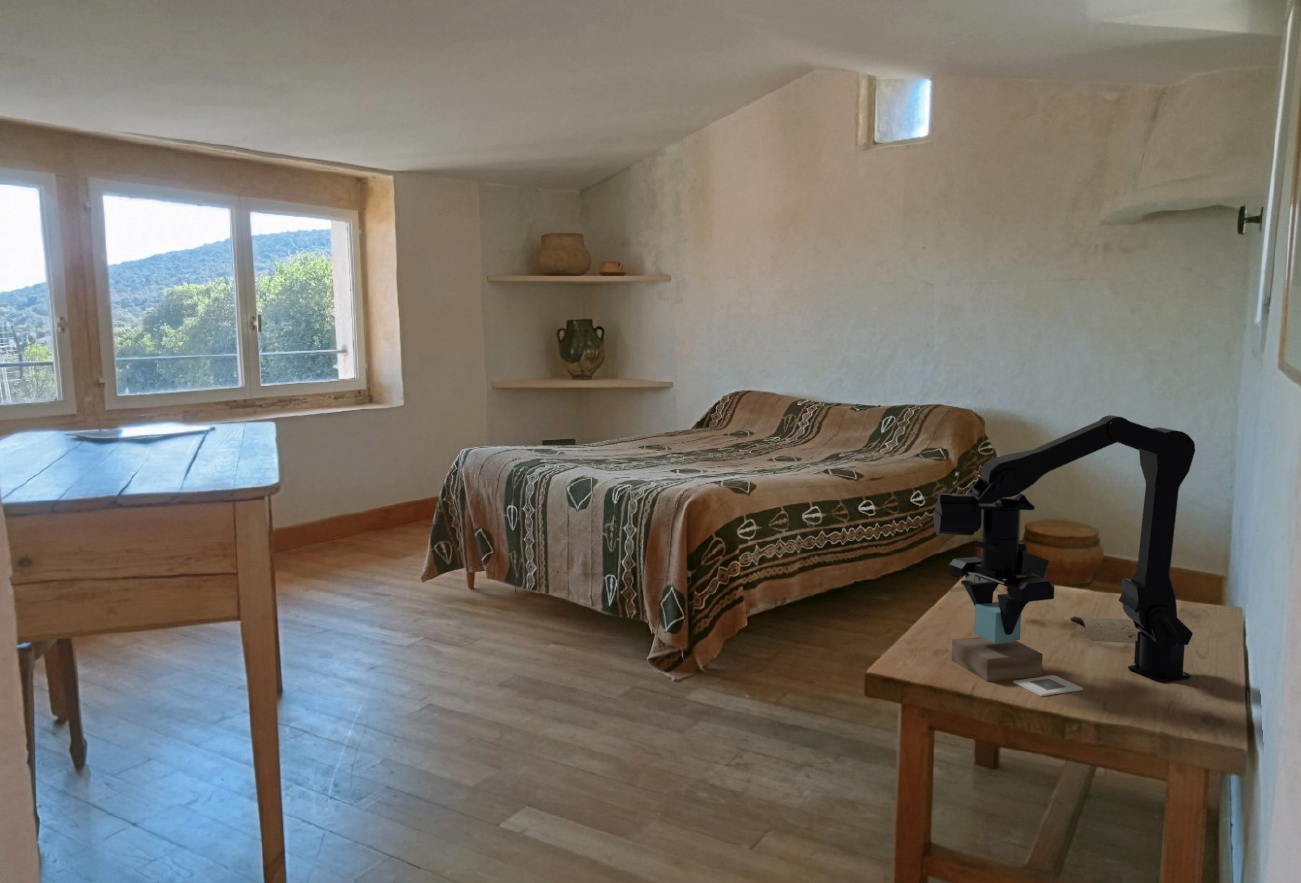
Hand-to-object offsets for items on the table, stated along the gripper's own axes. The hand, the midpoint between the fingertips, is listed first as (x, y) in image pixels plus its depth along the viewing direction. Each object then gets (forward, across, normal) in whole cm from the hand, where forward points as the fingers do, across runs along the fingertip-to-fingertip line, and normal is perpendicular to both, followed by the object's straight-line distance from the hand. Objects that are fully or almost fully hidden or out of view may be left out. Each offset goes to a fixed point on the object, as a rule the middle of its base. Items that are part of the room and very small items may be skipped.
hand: (997, 629), depth 150 cm
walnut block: (+7, 0, 0) cm, 7 cm away
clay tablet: (+7, +9, -33) cm, 35 cm away
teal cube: (+1, 0, 0) cm, 1 cm away
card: (+6, -10, -2) cm, 12 cm away
